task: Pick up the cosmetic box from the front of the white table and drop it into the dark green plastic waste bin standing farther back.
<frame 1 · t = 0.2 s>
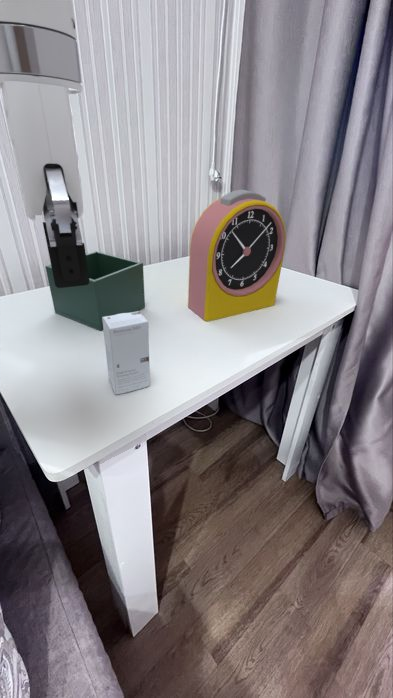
hand: (67, 269, 36), 22 cm above the table, tool pointing down, fingers open, 9 cm apart
alarm clock: (231, 306, 83), on the table
bin: (101, 310, 78), on the table
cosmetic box: (130, 384, 56), on the table
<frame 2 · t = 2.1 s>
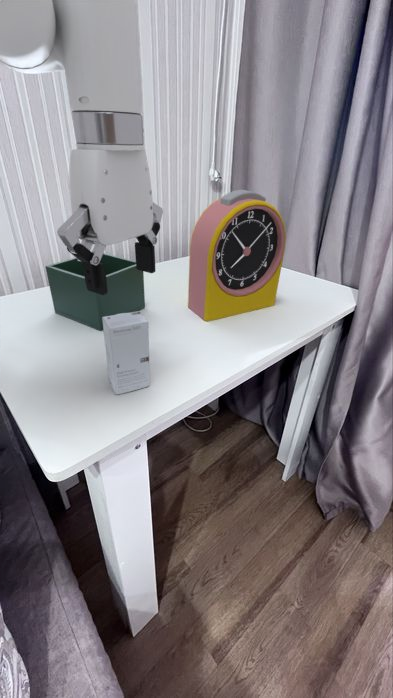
hand: (123, 280, 46), 18 cm above the table, tool pointing down, fingers open, 9 cm apart
nothing on the table moved.
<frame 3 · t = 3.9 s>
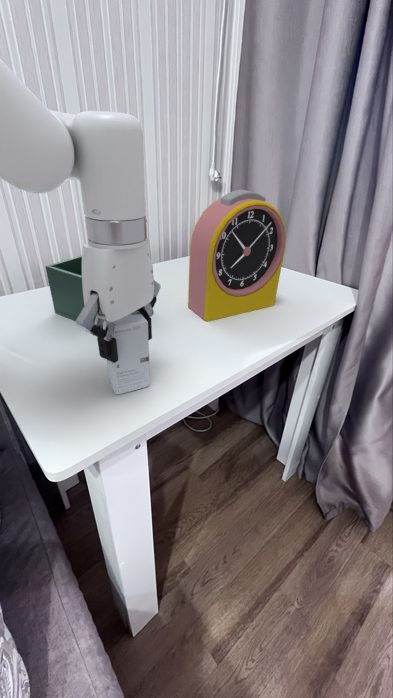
hand: (127, 346, 52), 7 cm above the table, tool pointing down, fingers closed on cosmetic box, 7 cm apart
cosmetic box: (130, 384, 56), on the table, touching gripper
everything else where it was.
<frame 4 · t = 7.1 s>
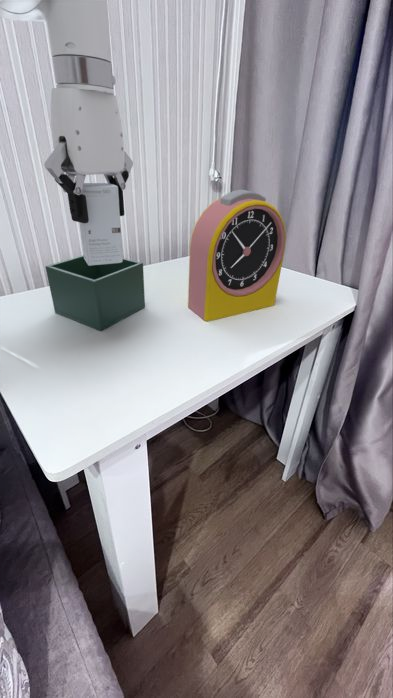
hand: (99, 217, 54), 24 cm above the table, tool pointing down, fingers closed on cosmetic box, 7 cm apart
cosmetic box: (104, 261, 58), point 16 cm above the table, touching gripper
everything else where it was.
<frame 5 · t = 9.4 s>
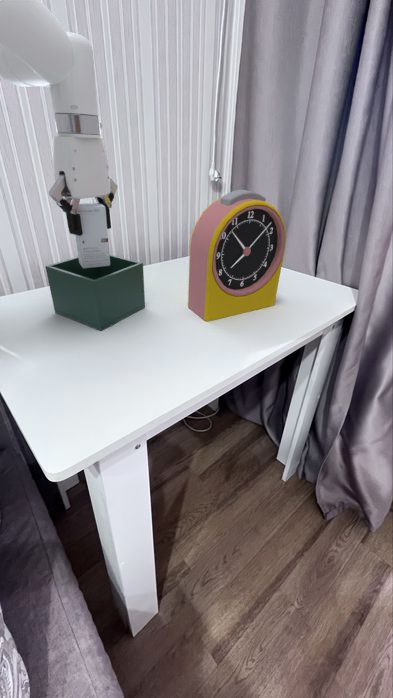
hand: (91, 230, 68), 18 cm above the table, tool pointing down, fingers closed on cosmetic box, 7 cm apart
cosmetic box: (95, 265, 72), point 11 cm above the table, touching gripper
everything else where it was.
when the fingers open (16 cm above the table, at t = 10.7 s): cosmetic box drops 7 cm, resting on bin.
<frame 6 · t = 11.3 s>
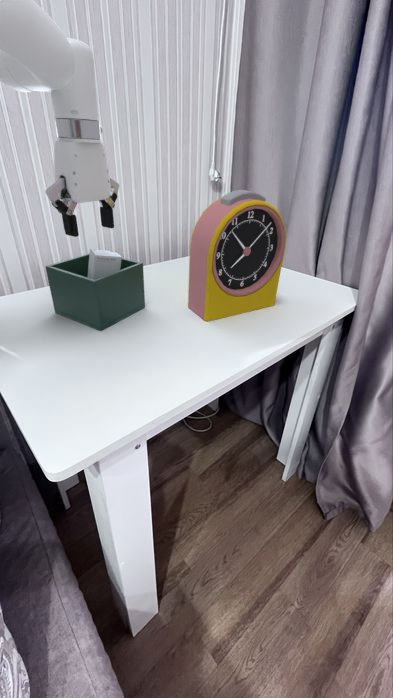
hand: (90, 231, 68), 18 cm above the table, tool pointing down, fingers open, 9 cm apart
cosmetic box: (100, 304, 78), point 1 cm above the table, touching bin
everything else where it was.
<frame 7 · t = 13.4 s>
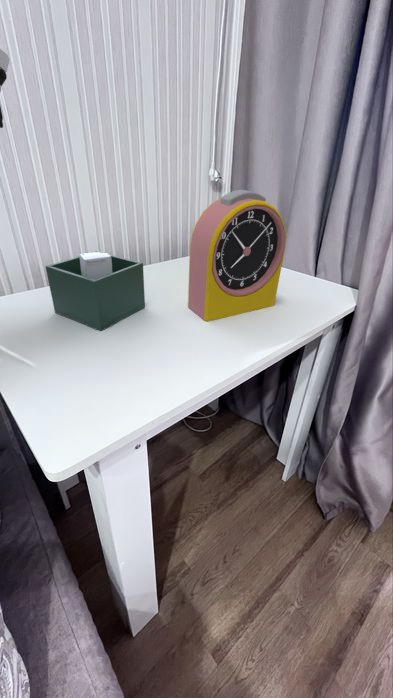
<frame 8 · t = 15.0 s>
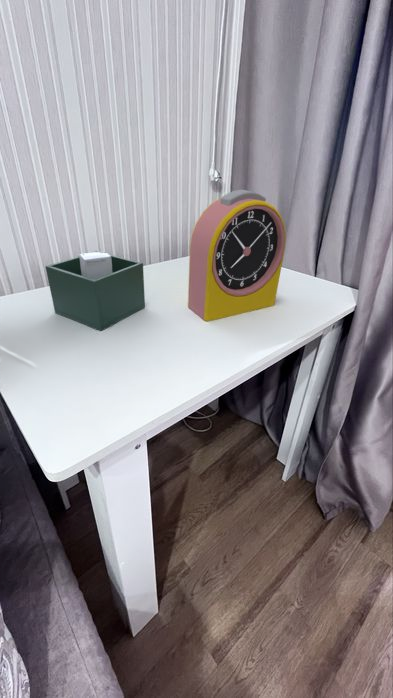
at the end: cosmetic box inside the target area in the bin (0.0 cm from its centre), point 0.8 cm above the bin's base; the gripper is holding nothing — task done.
